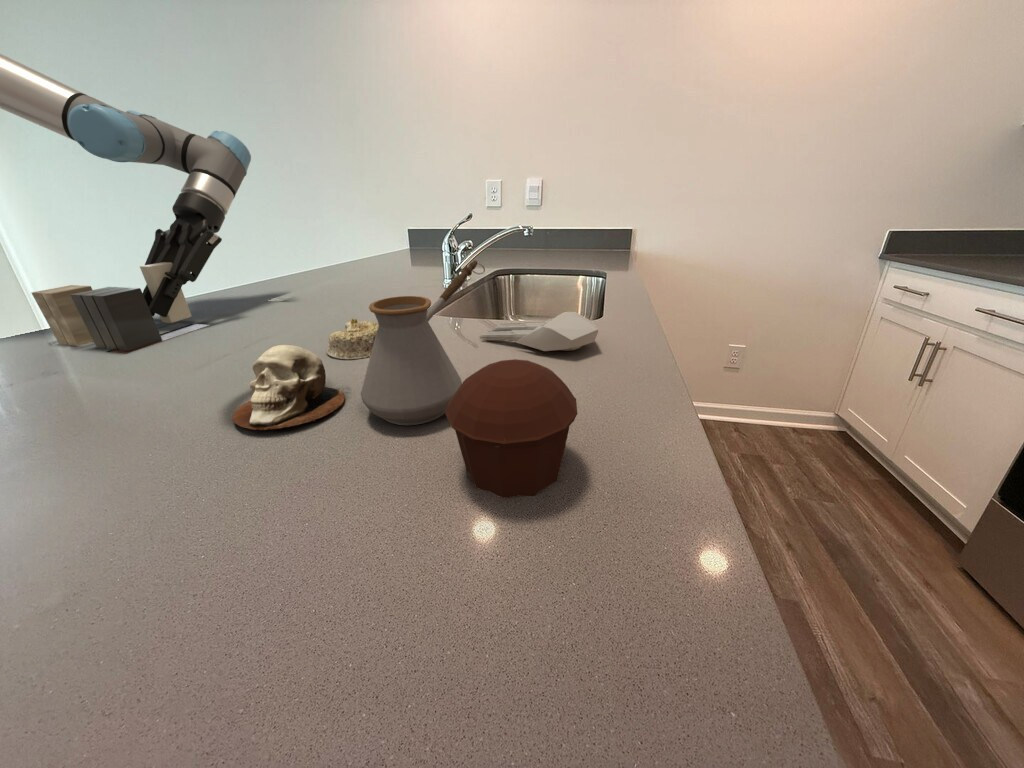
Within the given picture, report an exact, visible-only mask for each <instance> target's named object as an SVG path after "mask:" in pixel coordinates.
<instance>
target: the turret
mask: <svg viewBox="0 0 1024 768" xmlns="http://www.w3.org/2000/svg"><path fill="white" fill-rule="evenodd" d="M598 333H599V329H598V327H597V326H596V324H595V323H594V321H592V320H590V319H588V318H587V317H585V316H583V315H581V314H580V313H578V312H576V311H564V312H561V313H560V314H558V315H555V316H554V317H551V318H549V319H547V320H546V321H531V322H530V321H529V322H528V321H525V322H518V323H517V322H516V323H500V324H498V325H496V326H495V327H493V328H492V330H487V331H485V332H484V333H482V334H480V335H479V336H478V338H479V339H480V340H482V341H508V342H514V343H517V344H518V345H522V346H527V347H529V348H533V349H537V350H539V351H543V352H550V351H564V352H565V351H566V352H567V351H569V352H570V351H575V350H578V349H580V348H581V347H582V346H586V345H588V344H591V343H594V342H595V341H596V338H597V337H598Z"/></svg>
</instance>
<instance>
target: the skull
mask: <svg viewBox="0 0 1024 768" xmlns="http://www.w3.org/2000/svg"><path fill="white" fill-rule="evenodd" d="M252 371H253V373H254V375H255V379H254V380H251V381H250V383H249V388H250V390H251V391H253V394H252V396H251V398H250V400H249V401H247V402H245V403H243V404H242V405H240V406H239V407H238V408H236V410H235V411H234V412H233V414H232V417H231V419H232V422H233V423H234V424H235V425H237V426H239V427H241V428H245V429H248V430H255V431H258V430H259V431H269V430H276V429H283V428H290V427H296V426H300V425H302V424H306V423H310V422H313V423H315V422H317V420H318V419H323V417H328V416H330V414H331V413H333V412H335V411H336V410H337V409H339V408H340V407H341V406H342V405H343V404H344V402H345V398H346V395H345V394H344V393H343V391H341V390H340V389H336V388H332V387H328V386H326V384H327V383H326V379H327V378H326V377H327V375H326V369H325V366H324V363H323V360H322V359H321V358H320V357H319V356H317V355H316V354H314V353H313V352H312V351H310V350H308V349H305V348H304V347H300V346H297V345H291V344H290V345H289V344H278V345H274V346H272V347H270V348H268V349H266V351H264V352H263V353H262V354H261V355H260V356H259V357H258V358H257V360H255V361H254V363H253V365H252Z"/></svg>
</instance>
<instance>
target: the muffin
mask: <svg viewBox="0 0 1024 768" xmlns="http://www.w3.org/2000/svg"><path fill="white" fill-rule="evenodd" d="M444 414H445V416H446V418H447V421H448V423H449V425H450V427H451V428H452V429H453V430H454V431H455V435H456V438H457V442H458V445H459V446H458V447H459V449H460V452H461V456H462V459H463V463H464V467H465V470H466V471H467V473H468V474H469V476H470V477H471V479H472V481H473V484H474V487H475V489H479V490H481V491H485V492H489V493H491V494H493V495H495V496H497V497H499V498H501V499H508V498H514V497H527V496H528V497H529V496H530V497H531V496H537V495H538V494H539V493H540V492H542V491H543V490H545V488H548V487H549V486H551V485H552V484H555V483H557V482H558V480H559V476H560V470H561V468H562V467H561V466H562V462H563V457H564V454H565V453H564V452H565V449H566V444H567V440H568V435H569V430H570V426H571V425H572V424H573V423H574V422H575V420H576V418H577V416H578V403H577V398H576V397H575V396H574V394H573V393H572V391H571V390H570V388H569V387H568V385H567V384H566V383H565V382H564V381H563V380H562V379H561V378H560V377H559V376H558V374H556V373H555V372H554V371H553V370H552V369H550V368H548V367H547V366H543V365H541V364H539V363H537V362H533V361H531V360H527V359H516V358H515V359H505V360H504V359H503V360H499V361H496V362H492V363H488V364H487V365H485V366H483V367H482V368H480V369H478V370H477V371H475V372H474V373H472V374H470V375H469V376H467V378H465V379H464V380H463V381H462V384H461V386H460V387H459V388H458V390H457V391H456V393H455V395H454V396H453V397H452V398H451V400H450V403H449V405H448V407H447V409H446V411H445V413H444Z"/></svg>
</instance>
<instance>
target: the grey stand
mask: <svg viewBox="0 0 1024 768" xmlns="http://www.w3.org/2000/svg"><path fill="white" fill-rule="evenodd" d="M71 297H72V299H73V301H74V303H75V305H76V307H77V309H78V311H79V313H80V315H81V317H82V319H83V321H84V323H85V325H86V327H87V329H88V331H89V333H90V335H91V337H92V339H93V341H94V342H93V343H94V345H95V348H97V349H103V350H106V353H114V354H123V355H127V354H131V353H133V352H136V351H139V350H141V349H144V348H148V347H151V346H154V345H156V344H159V343H162V342H165V341H168V340H171V339H174V338H177V337H180V336H183V335H186V334H189V333H191V332H195V331H197V330H201V329H204V328H207V327H210V326H211V324H201V323H199V324H198V323H191V324H187V325H184V326H181V327H179V328H174V329H172V330H168V331H166V332H162V333H160V331H159V329H158V327H157V324H156V322H155V320H154V316H152V314H151V312H150V310H149V307H148V305H147V303H146V300H145V298H144V296H143V290H142V289H141V288H140V287H125V286H124V287H123V286H122V287H121V286H106V287H105V286H104V287H101V288H96V289H92V290H90V291H85V292H80V293H75V294H71Z"/></svg>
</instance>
